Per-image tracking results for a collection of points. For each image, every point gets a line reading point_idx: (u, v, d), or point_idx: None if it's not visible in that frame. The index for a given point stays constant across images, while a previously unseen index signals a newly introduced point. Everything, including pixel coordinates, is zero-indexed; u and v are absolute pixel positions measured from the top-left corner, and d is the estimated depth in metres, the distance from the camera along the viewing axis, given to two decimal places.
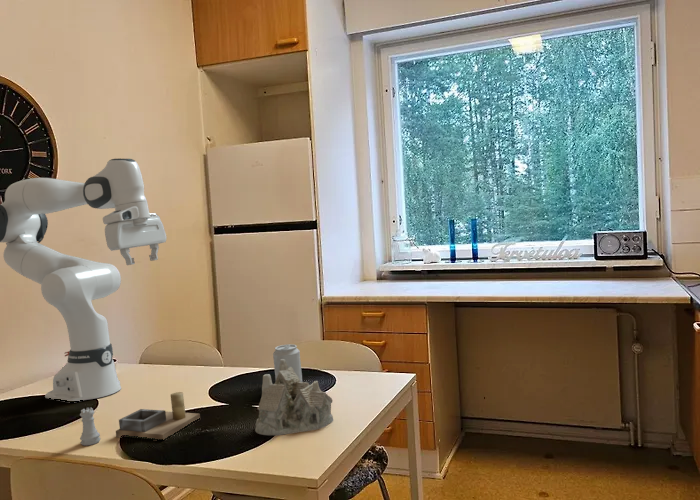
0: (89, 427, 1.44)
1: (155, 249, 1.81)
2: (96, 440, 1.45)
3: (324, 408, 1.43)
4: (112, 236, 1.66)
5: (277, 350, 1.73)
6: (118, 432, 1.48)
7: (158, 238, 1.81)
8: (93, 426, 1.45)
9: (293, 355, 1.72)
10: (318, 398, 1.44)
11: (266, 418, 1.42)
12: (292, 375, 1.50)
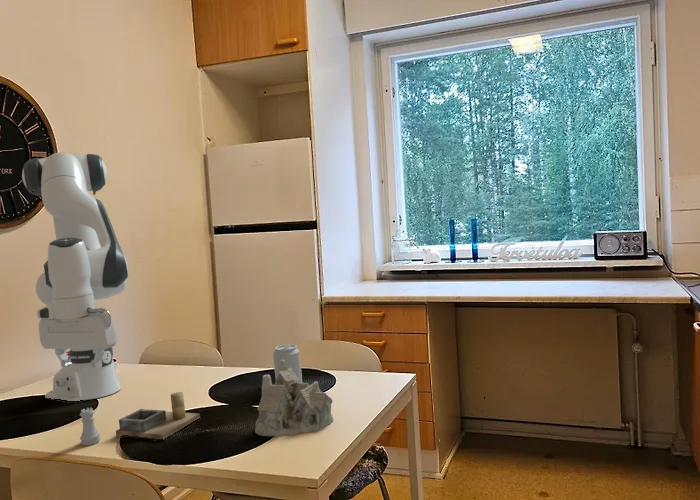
0: (89, 427, 1.44)
1: None
2: (96, 440, 1.45)
3: (324, 409, 1.43)
4: None
5: (277, 350, 1.73)
6: (118, 432, 1.48)
7: (93, 343, 1.40)
8: (93, 426, 1.45)
9: (293, 355, 1.72)
10: (318, 398, 1.44)
11: (266, 418, 1.41)
12: (291, 376, 1.49)
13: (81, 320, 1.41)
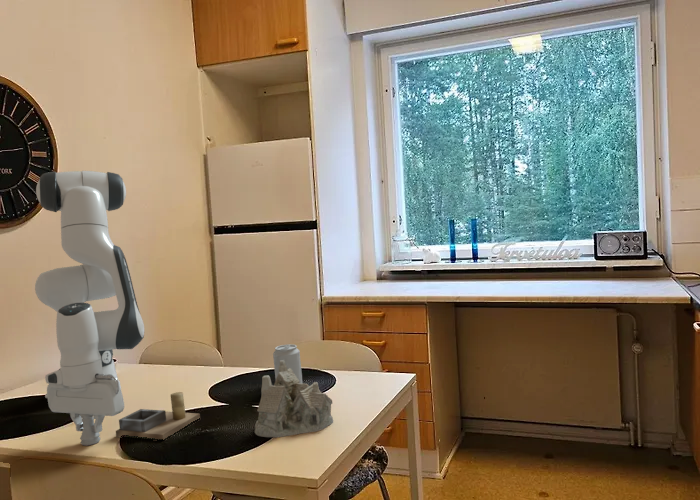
0: (89, 427, 1.44)
1: None
2: (96, 440, 1.45)
3: (324, 410, 1.42)
4: None
5: (277, 350, 1.73)
6: (118, 432, 1.48)
7: (101, 410, 1.41)
8: None
9: (293, 355, 1.72)
10: (318, 399, 1.43)
11: (265, 419, 1.41)
12: (291, 376, 1.48)
13: (89, 386, 1.42)
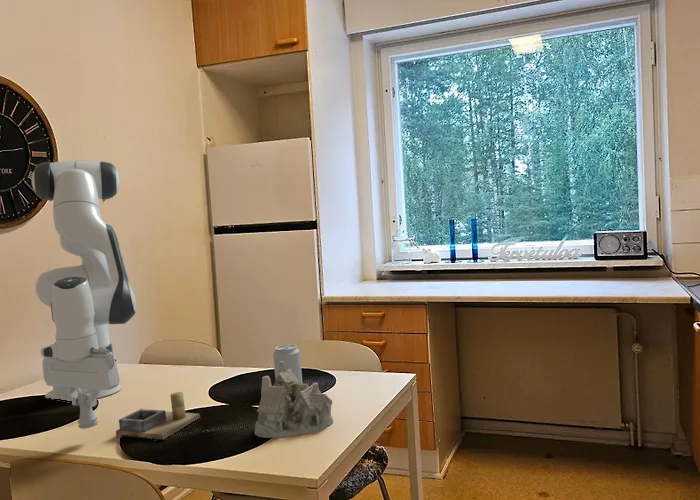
0: (86, 410, 1.44)
1: None
2: (94, 423, 1.45)
3: (324, 410, 1.42)
4: None
5: (277, 350, 1.73)
6: (118, 432, 1.48)
7: (96, 384, 1.41)
8: (90, 409, 1.45)
9: (293, 355, 1.72)
10: (318, 399, 1.43)
11: (265, 420, 1.40)
12: (291, 377, 1.48)
13: (84, 360, 1.41)
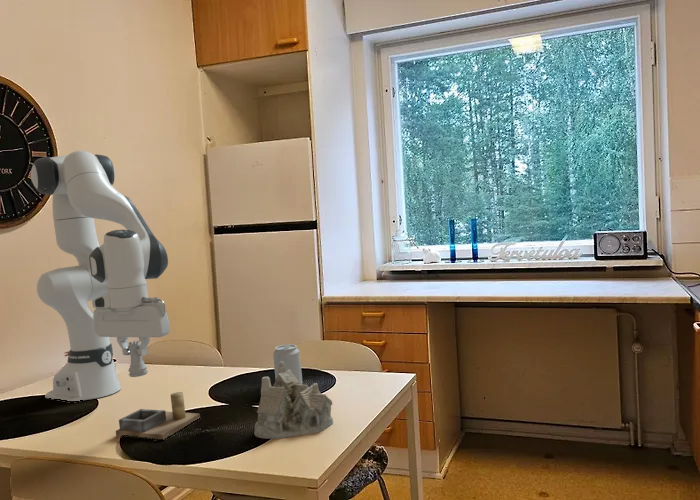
0: (137, 359, 1.48)
1: None
2: (144, 372, 1.48)
3: (324, 411, 1.42)
4: None
5: (277, 350, 1.73)
6: (118, 432, 1.48)
7: (148, 332, 1.44)
8: (141, 358, 1.49)
9: (293, 355, 1.72)
10: (318, 400, 1.42)
11: (265, 421, 1.40)
12: (291, 377, 1.48)
13: (136, 309, 1.45)
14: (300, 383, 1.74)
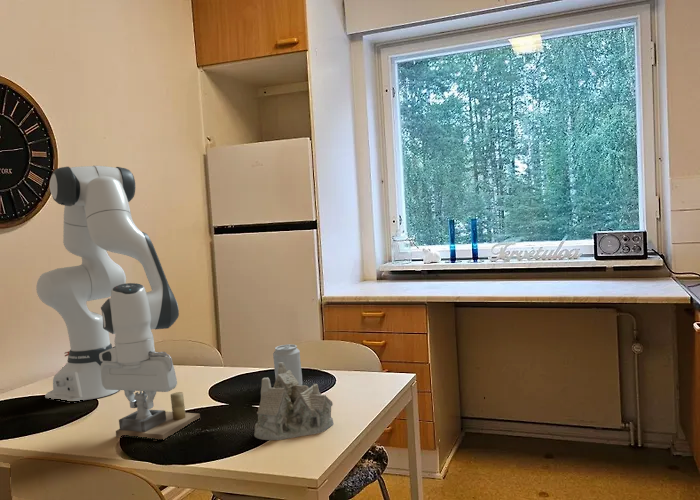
0: (143, 410, 1.49)
1: None
2: None
3: (325, 412, 1.41)
4: None
5: (277, 350, 1.73)
6: (118, 432, 1.48)
7: (155, 386, 1.45)
8: None
9: (293, 355, 1.72)
10: (319, 401, 1.42)
11: (265, 422, 1.39)
12: (290, 378, 1.47)
13: (143, 364, 1.46)
14: (300, 383, 1.74)
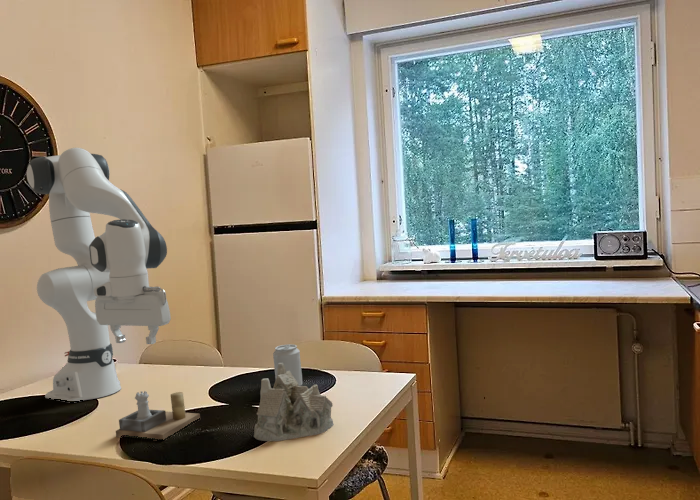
0: (144, 410, 1.49)
1: None
2: None
3: (325, 412, 1.40)
4: None
5: (277, 350, 1.73)
6: (118, 432, 1.48)
7: (149, 320, 1.46)
8: (148, 409, 1.50)
9: (293, 355, 1.72)
10: (319, 401, 1.41)
11: (265, 423, 1.39)
12: (290, 379, 1.46)
13: (137, 298, 1.47)
14: (300, 383, 1.74)
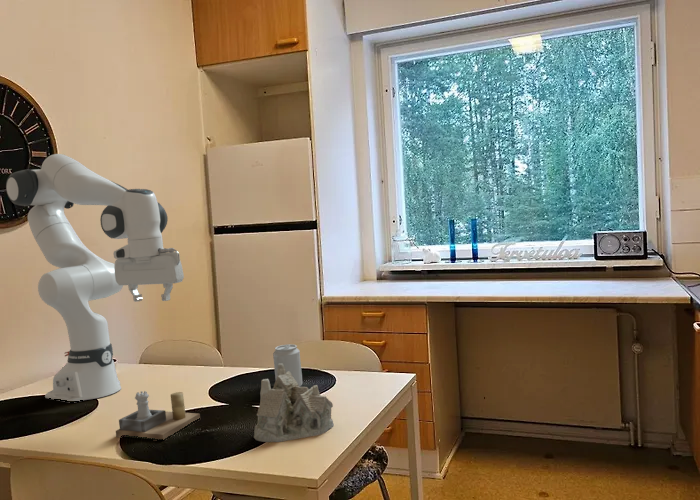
0: (144, 410, 1.49)
1: None
2: None
3: (325, 413, 1.40)
4: None
5: (277, 350, 1.73)
6: (118, 432, 1.48)
7: (164, 278, 1.62)
8: (148, 409, 1.50)
9: (293, 355, 1.72)
10: (319, 402, 1.41)
11: (265, 424, 1.38)
12: (290, 379, 1.46)
13: (153, 259, 1.62)
14: (300, 383, 1.74)
